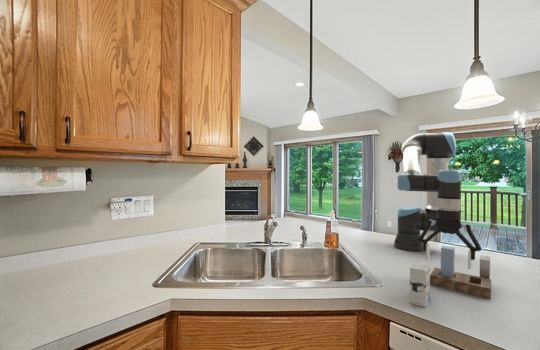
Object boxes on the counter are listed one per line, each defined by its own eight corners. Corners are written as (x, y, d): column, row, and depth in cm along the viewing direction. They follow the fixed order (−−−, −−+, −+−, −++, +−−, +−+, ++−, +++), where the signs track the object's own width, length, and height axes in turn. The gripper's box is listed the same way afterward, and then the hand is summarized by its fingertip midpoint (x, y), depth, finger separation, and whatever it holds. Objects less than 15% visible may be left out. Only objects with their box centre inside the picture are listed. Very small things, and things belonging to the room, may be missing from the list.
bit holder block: (429, 284, 101) (430, 275, 101) (434, 275, 110) (435, 267, 110) (490, 299, 90) (490, 289, 90) (491, 288, 98) (491, 279, 98)
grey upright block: (479, 284, 101) (479, 259, 101) (480, 279, 106) (480, 255, 106) (489, 287, 99) (490, 260, 99) (489, 281, 104) (490, 256, 104)
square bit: (440, 283, 102) (441, 247, 102) (442, 280, 105) (442, 245, 105) (452, 286, 100) (453, 249, 99) (454, 283, 103) (454, 247, 102)
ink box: (414, 293, 93) (414, 260, 93) (430, 298, 90) (430, 264, 90) (408, 303, 87) (409, 267, 86) (425, 308, 83) (426, 271, 83)
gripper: (410, 207, 107) (409, 258, 108) (490, 214, 91) (489, 275, 91) (415, 205, 113) (414, 254, 113) (490, 211, 97) (489, 269, 97)
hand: (447, 263), depth 102 cm, fingers open, 13 cm apart
